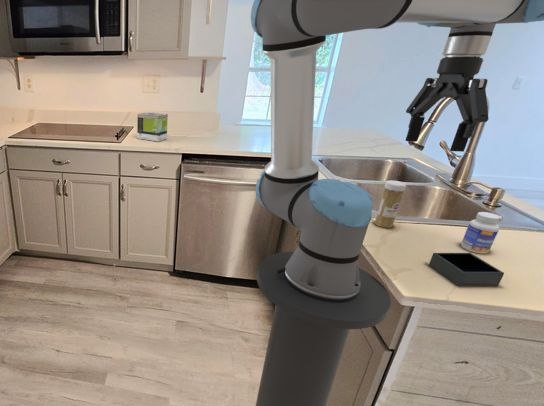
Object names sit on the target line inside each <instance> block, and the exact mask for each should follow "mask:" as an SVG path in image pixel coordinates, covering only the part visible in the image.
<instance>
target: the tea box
mask: <svg viewBox="0 0 544 406" xmlns="http://www.w3.org/2000/svg"><path fill="white" fill-rule="evenodd" d="M168 115H169V114H168V113H161V112H151V111H145V112H140V113H137V118H136V119H137V122H136V123H137V124H136V125H137V126H136V127H137V129H136V130H137V131H136V132H137V135H136V136H137V138H136V139H140V140H146V141H152V142H161V141H164V140H166V139H168V119H169V117H168Z"/></svg>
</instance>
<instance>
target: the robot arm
mask: <svg viewBox="0 0 544 406" xmlns="http://www.w3.org/2000/svg"><path fill="white" fill-rule="evenodd" d="M543 21H544V0H254V1H253V3H252V6H251V10H250V24H251V28H252V30H253V32H254V33H256V35H257V36H258V37H260V38H261V40H262V53H263V54H265V55H266V56H267V57H268V58H269V59H270V161H269V162H268V163H267V164H266V165H265V166H264V169H263V171H262V172H261V173H260V178H257V180H256V183H255V196H256V199H257V201H258V203H259V204H260V205H261V206H262V207H263V208H265V209H266V211H268V212H270V213H271V214H273V215H274V216H277V217H279V218H281V219H282V220H283V221H286V222H287V223H289V224H290V225H292V226H294V227H295V228H297V229H299V230H300V236H299V242H298V245H297V247H296V249H295V250H294V251H293V252H294V253H293V255H292V256H291V258H290V259H289V261H288V262H287V264H286V265H285V267H284V268H281V269H278V270H277V273H278V274H279V273H282V272H284V278H285V280H286V281H287V282H288V284H289V285H290V286H292V287H293V288H294V289H296V290H297V291H299V292H301V293H303V294H305V295H307V296H309V297H312V298H315V299H319V300H323V301H328V302H346V301H350V300H353V299H355V298H356V297H357V296H358V294H359V291H360V287H361V282H360V274H359V268H360V267H359V258H360V254H361V251H362V247H363V244H364V242H365V238H366V234H367V231H368V229H369V226H370V225H369V224H370V222H371V220H372V214H373V208H374V200H373V197H372V196H371V194H370V193H369V192H368V191H367V190H366V189H364V188H362V187H361V186H359V185H357V184H354V183H351V182H349V181H342V180H340V179H336V178H320V179H319V172H320V171H319V169H320V166H319V164H318V163H317V162H315V160H313V141H314V140H313V138H314V114H315V93H316V92H315V91H316V73H317V71H316V70H317V69H316V68H317V52H318V50H319V49H320V48H321V47H322V46H323V45H324V44H325V43H326V42H327V36H332V35H338V34H343V33H349V32H355V31H362V30H374V29H375V30H379V29H386V28H389V27H391V26H393V25H394V24H397V23H416V24H418V25H419V26H424V27H425V26H426V27H428V28H431V27H436V28H450V29H449V33H448V36H447V39H446V42H445V45H444V46H443V51H442V56H444V57H442V58H441V59H440V60H439V63H438V67H437V70H436V74H438V77H427V78H425V81H424V83H423V86H422V87H421V89H420V90H419V92H418V93H417V94H416V96H415V97H414V99H412V101H411V103H410V104H409V106H408V107H407V109H405V113H406V114H409V115H410V116H411V117H410V120H409V124H408V130H407V132H406V133H407V134H406V137H405V142H418V140H419V138H420V137H419V136H420V134H421V131H422V127H423V125H424V122H425V119H426V118H425V114H426V113H428V111H430V109H432V108H433V107H434V106H435V105H436V104H437V103H438V102H439V101H440V100H441V99H444V98H449V99H453V100H454V101H455V103H456V105H457V108H458V110H459V113H460V116H461V118H462V121H460V123H459V124H458V127H457V130H456V132H455V135H454V138H453V141H452V143H451V146H450V149H449V151H450V152H462V153H463V152H465V150H466V147H467V144H468V142H469V139H471V138H472V137H473V134H474V132H475V129H476V127H477V125H478V124H481V123H487V122H488V121H489V110H488V99H487V90H486V89H487V86H488V82H489V81H488V79H487V78H475V76H476V75H478V74H479V73H480V72H481V71H480V70H481V68H482V65H483V62H484V59H483V57H482V56H485V55H486V53H487V51H488V48H489V44H490V42H491V40H492V36H493V33H494V30H495V27H496V25H499V24H528V23H535V22H543Z"/></svg>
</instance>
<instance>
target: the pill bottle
mask: <svg viewBox="0 0 544 406" xmlns="http://www.w3.org/2000/svg"><path fill="white" fill-rule="evenodd" d="M500 219H501V217H500V216H499V215H497V214H496V213H492V212H486V211H478V212H477V213H476V216H475V219H472V220H470V221H469V224H468V226H467V228H466V231H465V232H464V236H463V238H462V240H461V242H460V246H461V247H462V248H463V249H465V250H466V251H468V252H471V253H475V254H488V253H489V252H490V250H491V249H492V246H493V245H494V242H495V239H496V238H497V236H498V233H499V231H500V225H499V224H498V223H499V222H500Z"/></svg>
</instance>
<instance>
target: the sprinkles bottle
mask: <svg viewBox="0 0 544 406" xmlns="http://www.w3.org/2000/svg"><path fill="white" fill-rule="evenodd" d="M406 187H407V184H406V183H405V182H403V181H399V180H393V179H392V180H391V179H390V180H386V182H385V184H384V190H383V194H382V197H381V200H380V204H379V206H378V209H377V214H376V217H375V220H374V224H375V225H376V226H378V227H380V228H387V229H388V228H389V229H390V228H392V227H393V226H394V223H395V219H396V217H397V214H398V211H399V208H400V203H401V200H402V196H403V194H404V192H405V190H406Z"/></svg>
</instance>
